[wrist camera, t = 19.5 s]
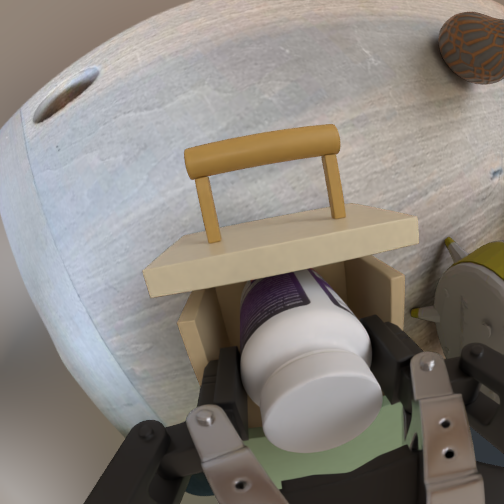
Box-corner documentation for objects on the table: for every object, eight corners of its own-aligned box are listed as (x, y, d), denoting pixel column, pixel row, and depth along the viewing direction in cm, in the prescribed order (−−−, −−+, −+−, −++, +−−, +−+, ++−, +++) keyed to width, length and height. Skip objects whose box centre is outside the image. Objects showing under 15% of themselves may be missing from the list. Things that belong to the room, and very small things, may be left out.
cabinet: (209, 348, 21) (191, 443, 11) (364, 316, 21) (425, 389, 11) (246, 451, 24) (248, 523, 15) (360, 427, 24) (388, 492, 15)
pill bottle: (236, 336, 17) (232, 464, 8) (244, 253, 16) (248, 348, 6) (317, 341, 17) (369, 455, 8) (334, 263, 16) (426, 347, 7)
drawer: (168, 167, 17) (115, 156, 9) (340, 136, 16) (400, 108, 9) (229, 394, 21) (225, 468, 13) (361, 365, 21) (399, 428, 13)
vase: (480, 101, 16) (543, 88, 8) (430, 70, 16) (495, 39, 7) (473, 49, 15) (525, 27, 6) (424, 18, 14) (474, -19, 6)
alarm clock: (462, 328, 22) (554, 405, 7) (413, 359, 22) (497, 463, 7) (455, 222, 19) (597, 268, 4) (397, 251, 19) (555, 339, 5)
